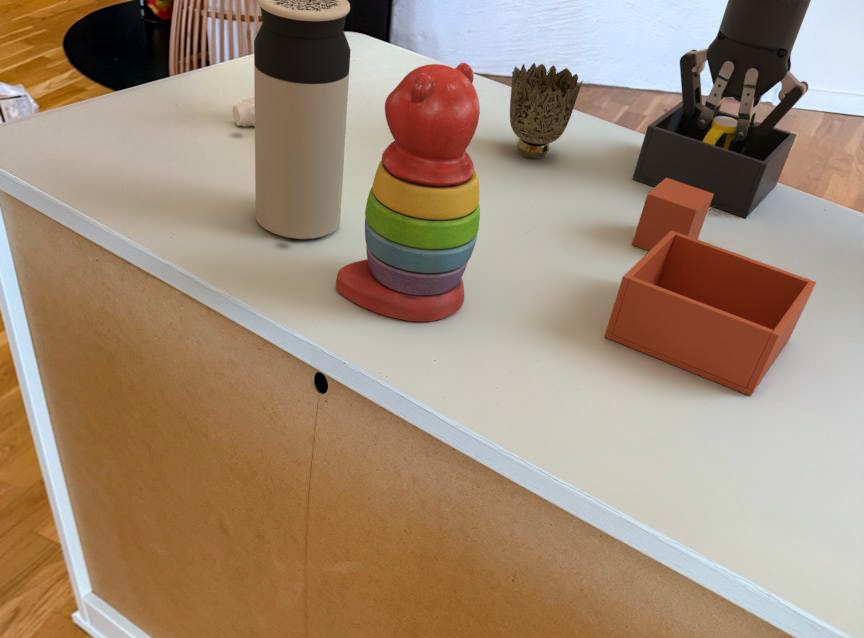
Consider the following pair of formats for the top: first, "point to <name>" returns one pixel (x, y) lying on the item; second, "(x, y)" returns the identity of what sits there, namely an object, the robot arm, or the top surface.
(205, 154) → the top surface
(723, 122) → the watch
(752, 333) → the terracotta bin
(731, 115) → the charcoal bin
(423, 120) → the stacking bear
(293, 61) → the travel mug
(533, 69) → the cup
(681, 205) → the terracotta block
